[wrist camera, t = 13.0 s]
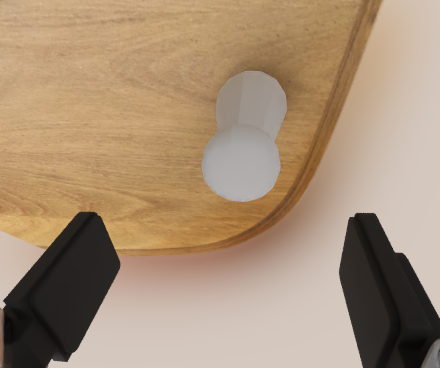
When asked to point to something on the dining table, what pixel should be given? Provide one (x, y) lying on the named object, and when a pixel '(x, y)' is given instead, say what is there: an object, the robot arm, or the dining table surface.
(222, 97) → the salt shaker
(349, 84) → the dining table surface
